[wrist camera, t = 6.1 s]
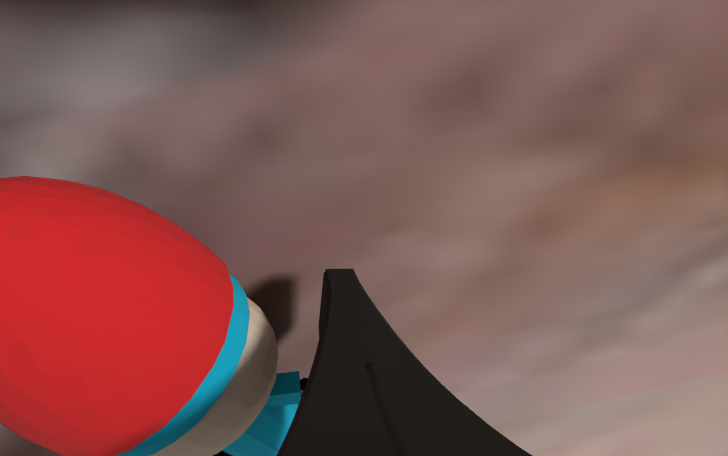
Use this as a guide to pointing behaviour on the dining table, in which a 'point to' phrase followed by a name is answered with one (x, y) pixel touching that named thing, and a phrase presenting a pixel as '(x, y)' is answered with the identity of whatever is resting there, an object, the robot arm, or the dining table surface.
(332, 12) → the dining table surface
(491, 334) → the dining table surface
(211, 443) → the toy figure
